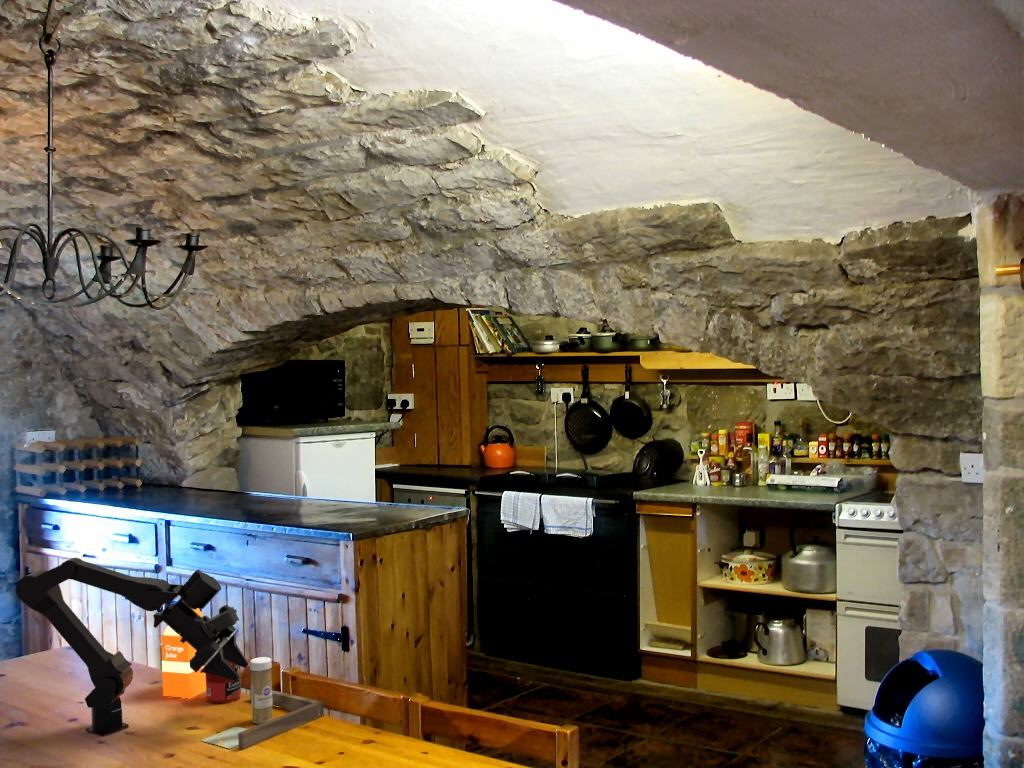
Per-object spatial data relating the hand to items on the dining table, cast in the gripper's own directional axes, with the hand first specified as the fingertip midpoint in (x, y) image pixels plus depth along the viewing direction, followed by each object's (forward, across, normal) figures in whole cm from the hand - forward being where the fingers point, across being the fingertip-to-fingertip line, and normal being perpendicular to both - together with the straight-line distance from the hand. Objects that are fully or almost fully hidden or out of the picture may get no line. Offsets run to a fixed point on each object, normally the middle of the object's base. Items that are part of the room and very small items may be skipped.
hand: (242, 672), depth 207 cm
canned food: (+2, +17, +14) cm, 22 cm away
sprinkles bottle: (+11, 0, +5) cm, 12 cm away
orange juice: (-5, +23, +21) cm, 32 cm away
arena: (+8, -1, +7) cm, 11 cm away
